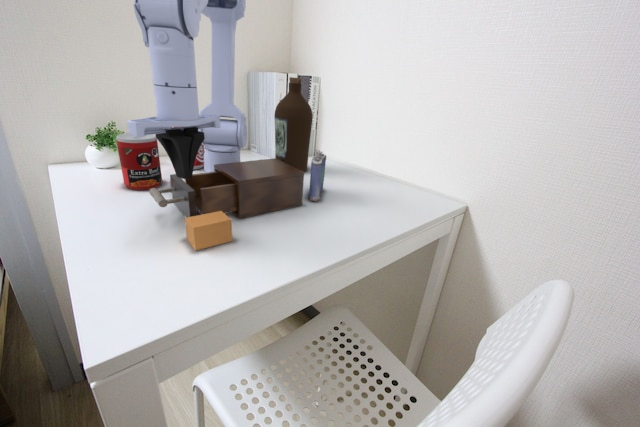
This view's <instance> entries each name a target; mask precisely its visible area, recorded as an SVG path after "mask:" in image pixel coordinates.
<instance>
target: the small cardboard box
mask: <svg viewBox="0 0 640 427" xmlns="http://www.w3.org/2000/svg"><path fill="white" fill-rule="evenodd" d="M184 224H185V234H186V240H187V242H188V243H189V244H190V246H191V248H192V249H193V250H194V252H195V251H196V252H197V251H199V250H204V249H209V248H212V247H216V246H220V245H223V244H227V243H231V242H233V225H232V224H233V222H232V218H230V217H229V216H228V215H227V213H223V212H222V211H218V212H212V213H207V214H202V215H201V214H197V216H192V217H187V218H186V217H184Z"/></svg>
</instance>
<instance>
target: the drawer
mask: <svg viewBox="0 0 640 427" xmlns="http://www.w3.org/2000/svg"><path fill="white" fill-rule="evenodd" d="M169 179H170V187H167V188H160V189H158V188H157V187H156V188H151V189H149V191H148V192H149V195H150V196H151V197H152V198H153V199H154V201H155V202H156V204H157V205H158V207H160V208H166V207H167V206H168V205H170V204H173V205H174V206H175V207H176V208H177V209H178V211H180V213H181V214H182V215H183V216H184V218H187V217H192V216H197V215H198V213H199V215H202V214H207V213H212V212H218V211H222V212H223V213H225V214H227V213H232V212H233V211H238V201H237V183H235V182H234V181H232V180H231V179H229V178H228V177H226V176H225V175H223V174H222V173H220V172H219V171H217V172H208V173H205V172H201V173H193V174H192V178H188V179H183V178H179V177H177V175H176V173H175V174H169ZM166 193H167V194H168V193H171V197H172V198H168V199H166V198H165V197H164V195H163V194H166Z"/></svg>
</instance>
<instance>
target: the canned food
mask: <svg viewBox="0 0 640 427" xmlns="http://www.w3.org/2000/svg"><path fill="white" fill-rule="evenodd" d="M115 141H116V147H117V152H118V157H119V164H120V169H121V174H122V180H123V184H124V186H125V188H127V189H129V190H132V191H147V190H150V189H151V188H156V189H157V188H158V187H160V186H161V185H162V182H163V176H162V168H161V159H160V151H159V144H158V139H157V138H156V135H155V134H152V135H145V136H144V137H135V136H131V135H129V132H127V133H126V132H125V133H121V134H118V135H116V137H115Z"/></svg>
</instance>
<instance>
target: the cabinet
mask: <svg viewBox="0 0 640 427" xmlns="http://www.w3.org/2000/svg"><path fill="white" fill-rule="evenodd" d="M217 171H219V172H220V173H222V174H223V175H225V176H226V177H228V178H229V179H231V180H232V181H234V182H235V183H237V201H238V211H233V212H231V213H232V214H233V215H234V216H236V218H238V219H240V220H241V219H245V218H250V217H255V216H259V215H264V214H268V213H273V212H278V211H282V210H287V209H291V208H292V209H293V208H296V207H300V206H302V205H303V197H304V196H303V195H304V180H305V179H304V178H305V177H304V176H305V171H304V172H303V171H301V170H299V169H297V168H295V167H293V166H290V165H288V164H286V163H284V162H282V161H280V160H277V159H275V158H274V157H273V158H266V159H257V160H247V161H245V160H244V161H240V162H235V163H225V164H216V165H214V172H217Z"/></svg>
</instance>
